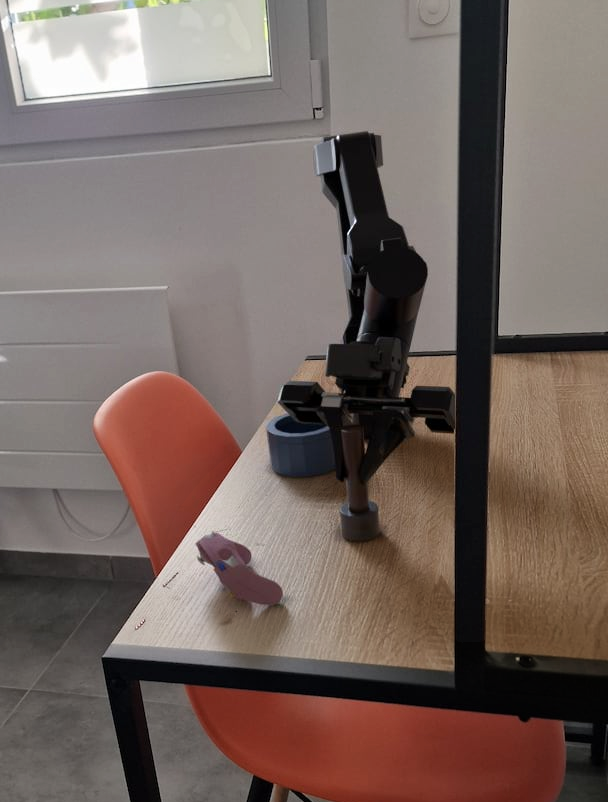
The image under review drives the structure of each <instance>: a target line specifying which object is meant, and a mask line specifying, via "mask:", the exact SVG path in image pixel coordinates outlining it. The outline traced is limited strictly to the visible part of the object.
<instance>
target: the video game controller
mask: <svg viewBox="0 0 608 802" xmlns="http://www.w3.org/2000/svg"><path fill="white" fill-rule="evenodd" d="M195 546H196V547H197V550H198V552H199V554H198V555H196V560H197V561H198V562H199V564H201V565H203V566H206V564H209V565H211V566H212V567H213V572H214V573H215V575H216V576H217V577H218V580H219V582H220V583H221V584H222V586H223V587H224V588H225V590H227V593H228V595H230V597H235V598H237V599H238V600H239V601H242V600H244V601H247V602H251V603H253V604H258V605H262V606H263V605H264V606H265V605H266V606H270V605H275V604H277V603H280V602H281V600H283V599H282V598H283V595H284V591H283V588H282V587H281V585H279V584H278V582H276V581H274V580H272V579H270V578H267V577H265V576H262V575H260V574H258V573H256V572H254V571H253V570H252V569H250V568H249V567H248V565H249V564H250V563H251V561H252V558H253V557H252V552H251V550H250V549H249V548H248V547H247V546H246V545H244V544H241V543H240V542H237V541H233V540H230V539H229V538H226V537H224V536H223V535H222V534H221V533H219V532H214V530H212V531H211V533H209V534H205V535H203V536H202V537H201V538H200V539H198V540H197V541H196V542H195Z"/></svg>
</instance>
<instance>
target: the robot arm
mask: <svg viewBox="0 0 608 802" xmlns="http://www.w3.org/2000/svg"><path fill="white" fill-rule="evenodd" d="M320 139H321V140H320V142H319V143H317V144H315V145H314V146H313V148H312V159H313V168H314V169H313V170H314V174H315V177H320V185H321V192H322V194H323V195H324V196H325V198H326V199H327V200H328V202H329V203H330V204H331V205H332V206H333V207H334V209H335V210H336V219H337V220H336V221H337V226H338V227H337V228H338V236H339V244H340V251H341V252H340V253H341V261H342V274H343V280H344V281H343V282H344V286H345V293H346V301H347V302H346V303H347V309H348V311H347V312H348V319H349V320H348V322H347V324H346V327H345V329H344V331H343V333H342V335H341V338H340V340H339V341H340V342H339V343H328V344H327V348H326V358H325V370H324V377H327V378H330V377H333V378H335V382H334V384H335V385H336V387H337V388H338V389H339V392H332V391H331V392H330V391H326V390H325V389H324V388H323V387H322V386H321V384H320V383H319V382H318V381H308V380H307V381H306V380H305V381H304V380H288V381H287V382H285V383H284V384H283V385H282V386H281V388H280V389H279V390H280V391H279V394H278V398H277V403H278V405H279V406H280V407H282V409H283V410H284V411H285V412H286V414H287V413H288V414H289V415H290V416H291V417H292V418H293V419H294V420H295V421H296V422H299V423H301V424H314V425H323V424H326V425H327V426H328V427H329V430H330V434H331V438H332V444H333V453H334V462H335V469H334V470H335V478H336V479H335V480H336V481H337V482H338V483H340V484H341V483H342V484H343V483H344V481H345V480H346V478H345V467H344V456H343V445H342V433H341V429H342V427H344V426H347V425H352V424H357V425H361V426H362V427H363V433H364V438H369V439H368V443H367V446H366V448H365V456H364V460H363V463H362V467H361V472H360V479H359V482H360V483H361V484H362V485H366V484H368V483H369V482H370V481H371V479H372V478H373V477H374V475H375V474H376V472H377V471H378V470H379V469H380V468H381V466H382V465H383V463H384V462H385V461H386V460H387V459H388V458H389V456H390V455H391V454H392V453H393V452H394V451H395V450H396V449H397V448H398V447H399V446H400V445H401V444H402V443H403V442H404V440H406V439H413V438H414V437H415V435H416V431H415V430H414V426H415V422H416V419H418V418H423V419H424V424H425V426H426V427H427V429H428V430H429V431H430V432H431V433H436V434H448V435H449V434H452V435H455V434H454V429H455V395H456V393H455V392H454V391H453V389H452V388H451V386H438V385H437V386H434V385H415V386H414V387H413V388H412V389H411V394H410V397H403V396H400V394H401V390H402V389H404V388H405V385H406V384H407V377H408V376H409V373H410V369H411V367H410V365H409V363H408V359H409V354H410V350H411V347H412V341H413V337H414V333H415V328H416V324H417V320H418V314H419V311H420V307H421V304H422V299H423V296H424V292H425V287H426V284H427V280H428V275H429V270H428V269H429V268H428V264H427V262H426V261H425V260H424V258H423V257H422V256H421V255H420V254H419V253H418V252H417V251H416V248H415V247H414V246H413V245H409V241H408V238H407V235H406V232H405V228H404V226H402V224H400V223H398V222H397V221H396V220H394V219H392V218H391V217H390V215H389V211H388V208H387V204H386V199H385V195H384V190H383V186H382V181H381V178H380V173H379V170H378V169H379V168H382V167H383V166H384V157H383V143H382V135H380V134H375V132H369V131H368V130H364V131H357V132H349V133H343V134H336V135H329V136H321V138H320Z"/></svg>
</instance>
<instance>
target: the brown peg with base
mask: <svg viewBox="0 0 608 802" xmlns="http://www.w3.org/2000/svg"><path fill="white" fill-rule="evenodd" d="M341 433H342V445H343V456H344V467H345V489H346V499H347V502H345V503H343V504H342V505H341V506H340V508H339V517H340V518H339V519H340V524H341V525H340V526H341V535H342V537H343V539H345V540H347V541H349V542H355V543H358V542H359V543H362V542H369V541H371V540H374V539H376V538H377V537H379V535H380V533H381V530H380V529H381V528H380V516H379V506H378V504H377V503H376V502H374V501H372V500H369V499H370V498H369V486H368V483H367V484H366V485H362V484H361V483H360V482H359V479H360V472H361V467H362V463H363V460H364V456H365V453H366V448H365V447H366V446H365V437H364V433H363V427H362V426H361V425H357V424H352V425H347V426H344V427H342V429H341Z"/></svg>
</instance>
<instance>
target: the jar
mask: <svg viewBox="0 0 608 802" xmlns="http://www.w3.org/2000/svg"><path fill="white" fill-rule="evenodd" d="M265 429H266V437H267V445H268V452H269V459H270V464H271V468H272V470H273V472H275V473H277V474H278V475H281V476H284V477H290V478H291V477H292V478H308V477H316V476H321V475H324V474H327V473H330V472H332V471H334V470H335V462H334V453H333V444H332V438H331V434H330V430H329V427H328V426H327V425H326V424H323V425H314V424H301V423H299V422H296V421H295V420H294V419H293V418H292V417H291V416H290V415H289V414H288V413H287V412H286V413H284V414H280V415H278V416H276V417H274V418H271V419H270V420H269V421H268V423H267V424H266V426H265Z"/></svg>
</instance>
